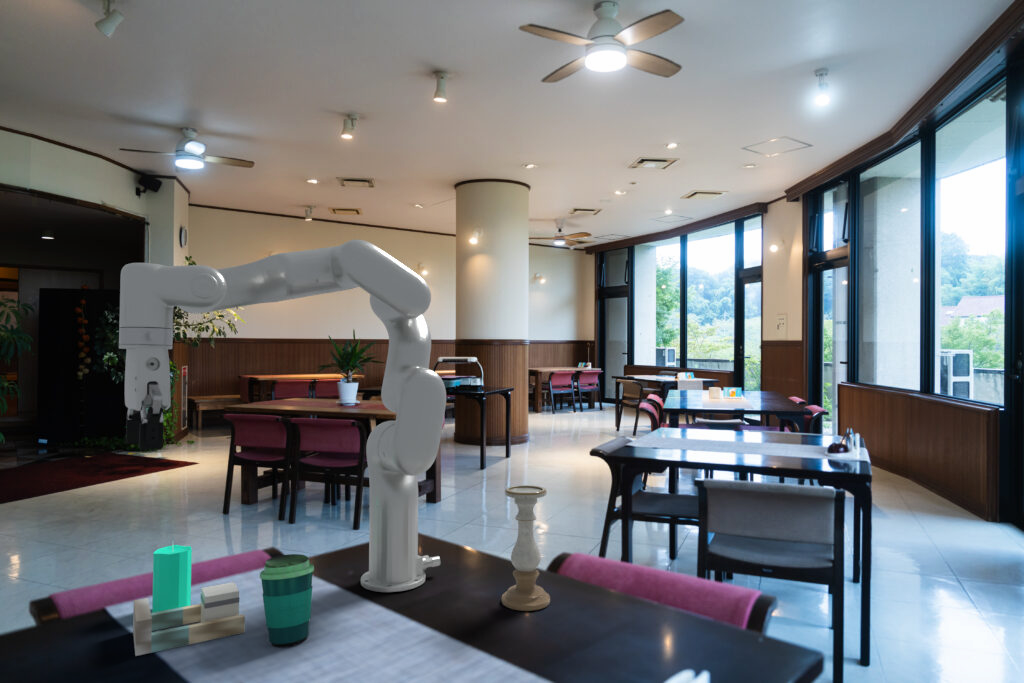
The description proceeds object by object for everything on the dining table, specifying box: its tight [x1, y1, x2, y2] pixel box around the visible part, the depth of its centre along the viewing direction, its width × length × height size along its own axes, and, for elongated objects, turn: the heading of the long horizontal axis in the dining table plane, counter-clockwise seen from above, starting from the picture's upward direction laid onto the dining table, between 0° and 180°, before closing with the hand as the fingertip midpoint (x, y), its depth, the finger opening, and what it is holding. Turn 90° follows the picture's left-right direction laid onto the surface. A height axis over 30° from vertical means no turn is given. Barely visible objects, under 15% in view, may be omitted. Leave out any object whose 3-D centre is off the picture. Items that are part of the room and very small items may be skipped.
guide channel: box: [132, 597, 246, 657], centre depth 100 cm, size 15×10×5 cm, turn 123°
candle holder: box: [501, 484, 551, 612], centre depth 113 cm, size 9×9×20 cm
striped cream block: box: [200, 581, 240, 623], centre depth 103 cm, size 5×5×6 cm
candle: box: [151, 541, 193, 613], centre depth 110 cm, size 6×6×12 cm
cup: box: [259, 553, 315, 648], centre depth 98 cm, size 8×8×12 cm
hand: (143, 446), depth 101 cm, fingers open, 9 cm apart
